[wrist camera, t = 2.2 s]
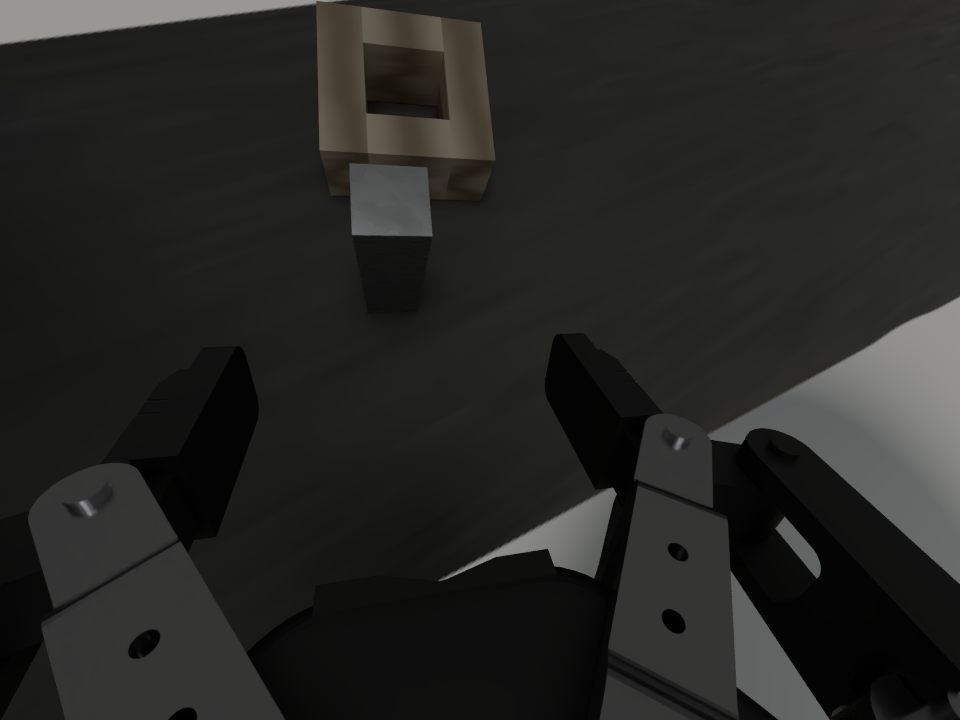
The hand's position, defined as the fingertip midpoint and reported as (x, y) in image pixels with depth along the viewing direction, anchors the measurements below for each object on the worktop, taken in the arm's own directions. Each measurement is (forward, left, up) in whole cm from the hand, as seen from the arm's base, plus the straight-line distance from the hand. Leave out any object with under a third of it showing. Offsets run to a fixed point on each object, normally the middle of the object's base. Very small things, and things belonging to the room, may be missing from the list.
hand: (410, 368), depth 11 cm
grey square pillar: (0, +12, -25) cm, 27 cm away
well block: (+2, +28, -25) cm, 37 cm away
